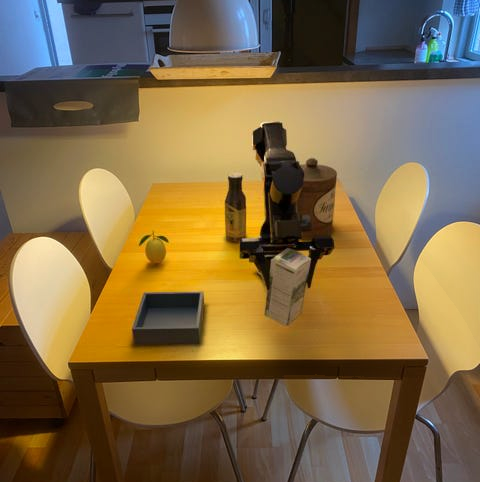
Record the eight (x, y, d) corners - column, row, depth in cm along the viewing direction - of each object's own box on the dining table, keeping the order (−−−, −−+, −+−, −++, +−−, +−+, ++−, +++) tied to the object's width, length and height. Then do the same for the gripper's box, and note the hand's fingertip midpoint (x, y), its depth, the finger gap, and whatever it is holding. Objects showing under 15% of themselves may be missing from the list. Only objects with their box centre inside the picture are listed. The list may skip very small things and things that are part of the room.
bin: (134, 344, 101) (131, 329, 98) (145, 307, 112) (143, 292, 110) (200, 343, 100) (198, 328, 98) (204, 306, 112) (203, 291, 110)
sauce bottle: (222, 235, 143) (219, 172, 133) (241, 232, 145) (239, 169, 135) (230, 245, 138) (228, 179, 127) (250, 240, 140) (249, 176, 129)
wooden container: (327, 242, 138) (334, 169, 126) (278, 236, 142) (280, 164, 130) (335, 221, 150) (341, 152, 138) (290, 216, 154) (292, 149, 142)
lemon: (142, 268, 128) (136, 235, 123) (148, 257, 133) (143, 225, 127) (166, 269, 127) (161, 236, 122) (171, 258, 132) (167, 226, 127)
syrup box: (279, 303, 102) (286, 246, 94) (302, 314, 100) (311, 256, 91) (263, 315, 99) (269, 257, 90) (287, 328, 96) (295, 269, 87)
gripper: (238, 200, 88) (242, 282, 85) (337, 197, 89) (344, 277, 86) (237, 221, 99) (241, 294, 96) (325, 217, 100) (332, 290, 96)
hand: (288, 288), depth 93 cm, fingers closed on syrup box, 8 cm apart
